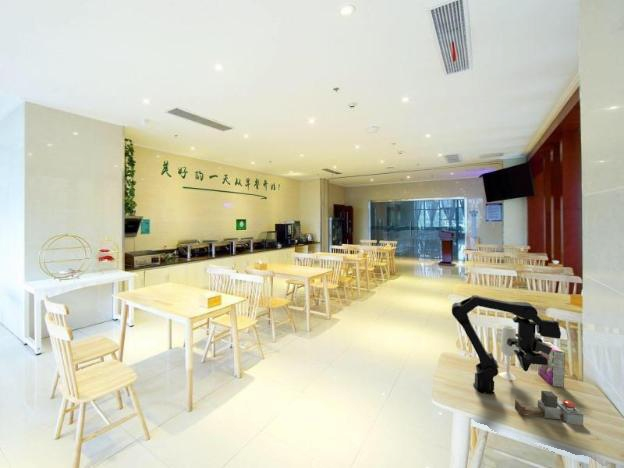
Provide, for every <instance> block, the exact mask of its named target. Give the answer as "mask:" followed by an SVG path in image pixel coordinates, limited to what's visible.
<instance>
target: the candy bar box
mask: <svg viewBox="0 0 624 468" xmlns="http://www.w3.org/2000/svg"><path fill="white" fill-rule="evenodd" d="M542 342H543V343H545V344H547V345H548V346H550V347H552V350H551V352H550V354H549V355H547V354H546V353H544V352H541V351H539V352H538V353H540V354H542V355H543V356H544V357H546V358H547V359H548V365H539V364H537V368H538V369H537V375H539V376H541V378H543V379H544V380H545V381H546V382H547V383H549V385H551V387H556V388H557V387H558V388H564V387H565V373H566V372H565V365H566V362H565V361H566V351H564V350H562V349H561V348H560V347H558V346H556V345H555V344H554V343H552V342H551V341H543V340H542Z"/></svg>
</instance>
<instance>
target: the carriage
mask: <svg viewBox="0 0 624 468" xmlns="http://www.w3.org/2000/svg"><path fill="white" fill-rule="evenodd" d="M540 393H541V396H540V397H541V398H540V399H537V407H540V408H541V409H542V410H543V411H544V417H543V418H545V419H552V420H561V419H560V408H559V407H558V406H557V401H558V396H557V395H556V394H555V393H554V392H552V391H551V390H541V392H540Z"/></svg>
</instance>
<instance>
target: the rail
mask: <svg viewBox="0 0 624 468" xmlns="http://www.w3.org/2000/svg"><path fill="white" fill-rule="evenodd" d="M514 409H515V410H516V412H518V414H519V415H520V416H521V417H525V416H526V415H527V416H535V417H542V418H545V417H544V411H543V410H542V409H541V408H540V407H538V406H530V405H524V404H523V403H522V402H521V401H520V400H519V399H515V400H514ZM561 419H562V420H563V413H562V412H561V411H560V420H561Z"/></svg>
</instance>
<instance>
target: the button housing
mask: <svg viewBox="0 0 624 468" xmlns="http://www.w3.org/2000/svg"><path fill="white" fill-rule="evenodd" d="M557 406H558V407H559V408H560V411H561V412H562V413H563V419H562V420H563V421H564V422H565V423H566V424H569V425H579V426H584V416H585V415H584V414H583V412H581V411H580V410H579V409H578V408H576V407H575V408H573V411H572V410H566V409H565V408H564V405H563V404H562V401H560V400H557Z"/></svg>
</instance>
